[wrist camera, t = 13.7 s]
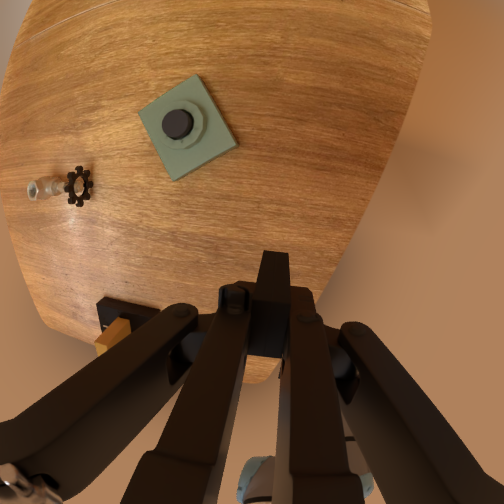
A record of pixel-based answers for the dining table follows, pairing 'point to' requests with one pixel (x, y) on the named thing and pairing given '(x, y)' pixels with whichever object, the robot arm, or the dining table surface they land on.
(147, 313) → the plate
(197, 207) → the dining table surface
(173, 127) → the bell button
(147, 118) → the doorbell
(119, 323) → the lock knob
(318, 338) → the robot arm
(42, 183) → the valve
